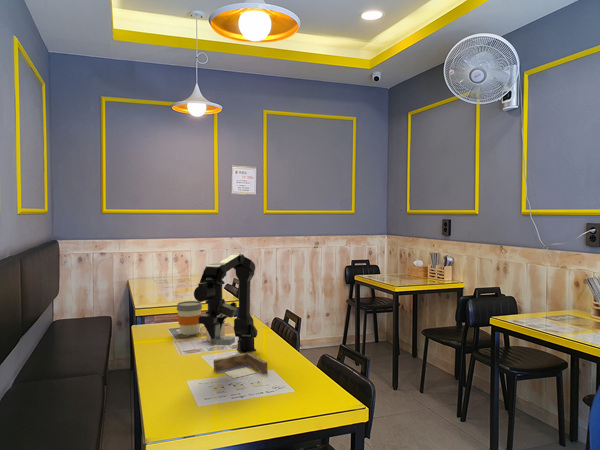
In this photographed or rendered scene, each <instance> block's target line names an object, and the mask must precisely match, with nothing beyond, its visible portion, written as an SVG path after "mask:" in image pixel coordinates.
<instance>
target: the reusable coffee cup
mask: <svg viewBox="0 0 600 450" xmlns="http://www.w3.org/2000/svg"><path fill="white" fill-rule="evenodd" d="M202 309H203V305H202V302H199V301H197V300H188V301H180V302H178V303H177V304H176V311H177V321H178V325H179V328H180V335H184V336H191V335H193V336H194V335H197V334H199V333H200V327H201V326H200V324H199V323H198V318H199V317H200V316H202V315H203V314H202Z"/></svg>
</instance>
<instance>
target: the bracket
mask: <svg viewBox="0 0 600 450" xmlns="http://www.w3.org/2000/svg"><path fill="white" fill-rule="evenodd" d="M235 342H236V338H235V336H231V335H227V336H226V335H225V336H220V323H218V324H217V325H216V329H215V337H214V339H211V341H210V345H212V346H213V345H217V346H231V345H233V344H234V343H235Z"/></svg>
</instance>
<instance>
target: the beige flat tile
mask: <svg viewBox="0 0 600 450" xmlns="http://www.w3.org/2000/svg"><path fill="white" fill-rule="evenodd" d="M223 374H226V375H227V376H229V377H230V378H232V379H233V378H234V379H238V378H241V377H247V376H251V375H254V374H257V371H256V372H255V370H252V369H250V368H249V367H247V366H245V367H242V368H237V369H233V370H229V371H225V372H223ZM237 377H238V378H237Z"/></svg>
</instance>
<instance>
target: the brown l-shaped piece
mask: <svg viewBox="0 0 600 450" xmlns="http://www.w3.org/2000/svg"><path fill="white" fill-rule="evenodd" d="M244 365H248V366H250V367H251V368H253V369H255V370H257V371H258V372H260V373H262V374H264V375H265V374H268V372H269V371H268V361H265V360H264V359H262V358H260V357H257V356H256V355H254V354H252V353H250V352H246V353H238V354H234V355H230V356H225V357H219V358H215V359H213V370H214V371H215V372H217V371H222V370H226V369H230V368H235V367H240V366H244Z"/></svg>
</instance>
